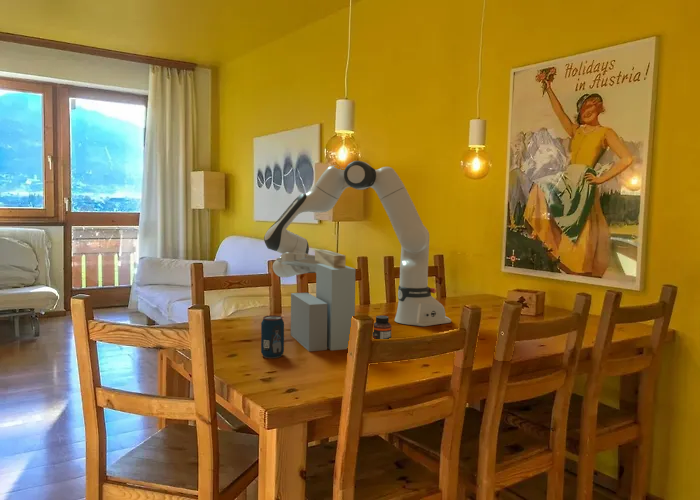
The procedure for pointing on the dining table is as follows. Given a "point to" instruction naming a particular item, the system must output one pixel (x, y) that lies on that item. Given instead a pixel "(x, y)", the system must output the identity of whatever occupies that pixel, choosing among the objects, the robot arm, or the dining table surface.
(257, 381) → the dining table surface
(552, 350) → the dining table surface
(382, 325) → the supplement bottle
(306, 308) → the step
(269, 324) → the soda can
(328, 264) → the bar
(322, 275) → the grey tall block
